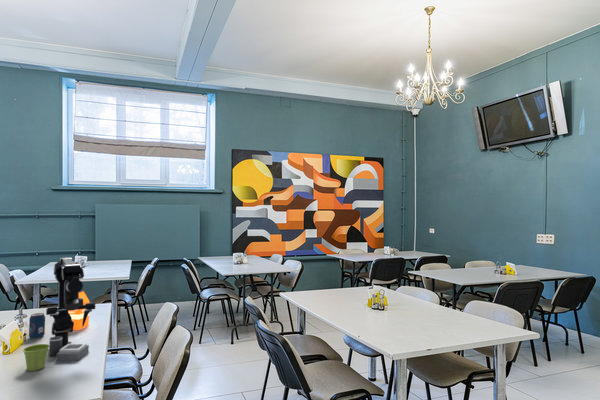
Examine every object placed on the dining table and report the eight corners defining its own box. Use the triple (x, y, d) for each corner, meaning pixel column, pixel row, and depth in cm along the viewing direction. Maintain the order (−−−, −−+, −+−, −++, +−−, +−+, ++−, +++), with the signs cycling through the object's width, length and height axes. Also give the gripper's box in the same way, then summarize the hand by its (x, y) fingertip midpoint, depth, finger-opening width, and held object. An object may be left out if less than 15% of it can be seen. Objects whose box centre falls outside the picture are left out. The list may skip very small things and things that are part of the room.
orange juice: (88, 325, 227) (90, 291, 227) (78, 330, 218) (80, 294, 219) (76, 325, 227) (77, 290, 228) (65, 329, 219) (67, 293, 219)
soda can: (25, 338, 203) (26, 315, 203) (39, 334, 209) (40, 312, 209) (33, 340, 200) (34, 316, 200) (47, 336, 206) (48, 313, 206)
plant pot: (19, 374, 158) (20, 352, 158) (25, 365, 166) (25, 345, 166) (46, 370, 161) (47, 349, 162) (50, 362, 170) (51, 342, 170)
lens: (52, 353, 181) (53, 336, 182) (63, 353, 182) (64, 336, 182) (46, 357, 176) (47, 339, 176) (58, 357, 177) (59, 339, 177)
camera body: (68, 353, 182) (68, 342, 182) (88, 352, 183) (88, 342, 183) (56, 361, 171) (56, 351, 171) (77, 361, 172) (78, 350, 172)
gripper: (46, 295, 162) (45, 334, 160) (96, 290, 172) (96, 327, 170) (46, 294, 172) (46, 331, 169) (94, 290, 182) (94, 324, 179)
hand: (71, 328), depth 172 cm, fingers open, 9 cm apart
